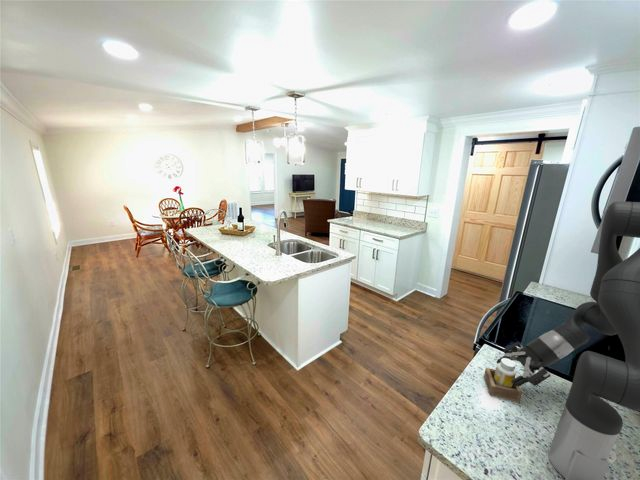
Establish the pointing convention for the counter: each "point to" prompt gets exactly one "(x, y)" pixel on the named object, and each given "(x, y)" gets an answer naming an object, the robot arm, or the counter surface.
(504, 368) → the supplement bottle
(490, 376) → the brown square tray
